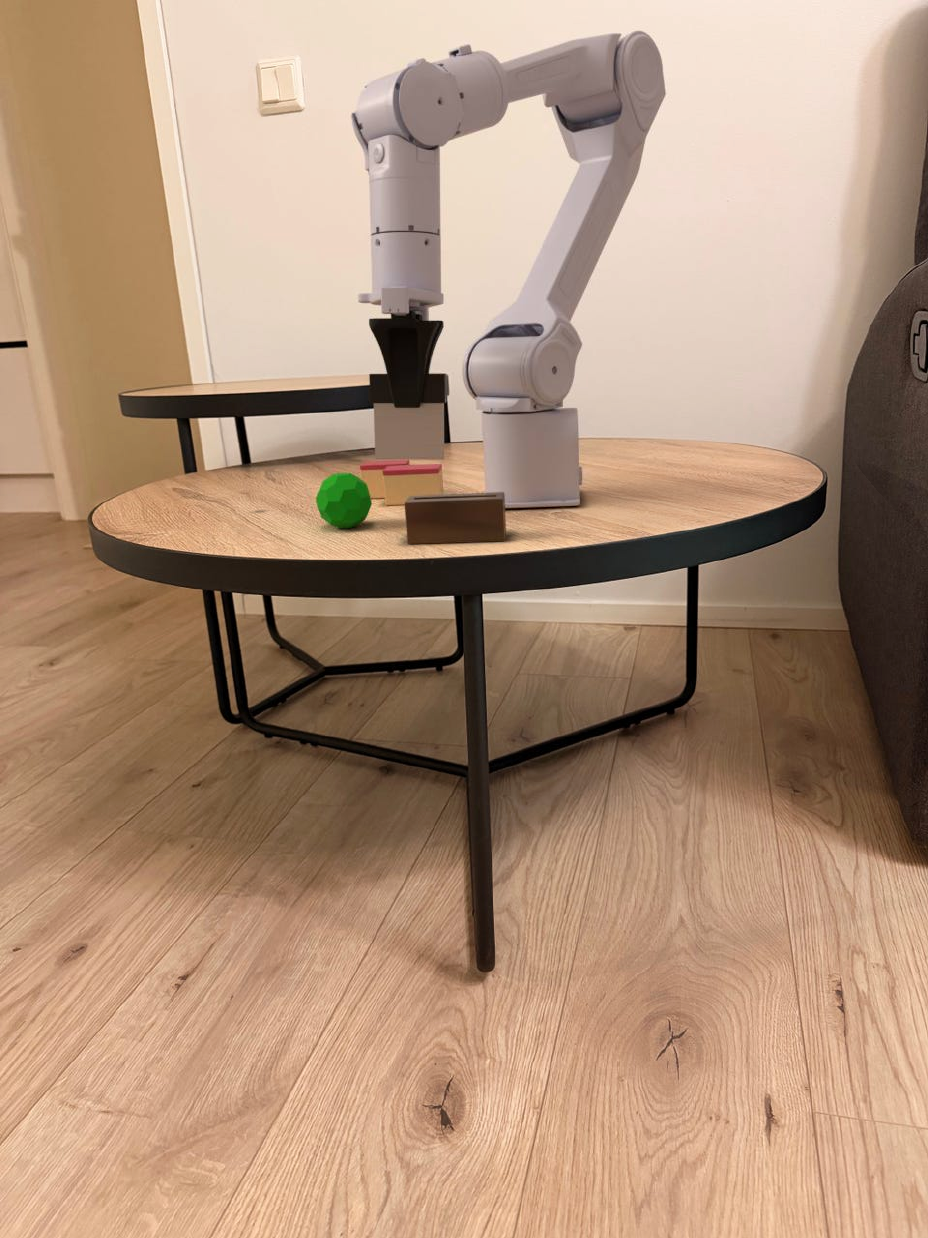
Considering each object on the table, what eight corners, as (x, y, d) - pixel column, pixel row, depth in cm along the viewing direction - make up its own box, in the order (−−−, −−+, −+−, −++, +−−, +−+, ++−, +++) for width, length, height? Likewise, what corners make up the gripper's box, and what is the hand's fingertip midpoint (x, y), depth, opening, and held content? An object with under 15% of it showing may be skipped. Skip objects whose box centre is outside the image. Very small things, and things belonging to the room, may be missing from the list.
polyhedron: (310, 532, 82) (304, 479, 80) (330, 520, 86) (325, 470, 85) (363, 532, 81) (358, 478, 79) (381, 520, 85) (376, 469, 84)
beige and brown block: (447, 458, 80) (446, 373, 78) (445, 460, 79) (444, 373, 77) (374, 458, 81) (372, 373, 79) (371, 460, 79) (369, 373, 77)
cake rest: (443, 497, 95) (441, 463, 94) (440, 503, 92) (438, 468, 91) (390, 499, 95) (387, 465, 94) (385, 505, 92) (382, 470, 91)
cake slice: (411, 492, 99) (409, 459, 98) (407, 497, 96) (405, 463, 95) (367, 493, 99) (364, 461, 98) (362, 498, 96) (359, 465, 95)
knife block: (506, 532, 78) (504, 491, 77) (504, 541, 75) (502, 498, 74) (412, 535, 78) (409, 495, 77) (407, 544, 76) (404, 502, 75)
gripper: (372, 248, 82) (376, 403, 86) (339, 224, 68) (345, 411, 72) (451, 247, 82) (451, 403, 85) (433, 222, 68) (435, 411, 72)
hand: (408, 407), depth 79 cm, fingers closed on beige and brown block, 2 cm apart
